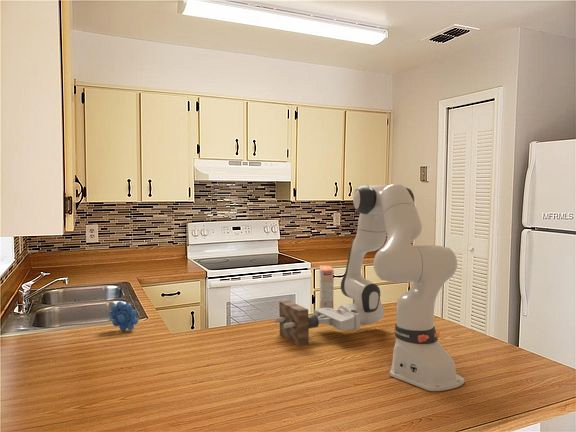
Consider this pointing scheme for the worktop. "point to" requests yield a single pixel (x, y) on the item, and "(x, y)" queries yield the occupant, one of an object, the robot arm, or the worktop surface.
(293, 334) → the block
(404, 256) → the robot arm
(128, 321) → the blue gear
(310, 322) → the black knob
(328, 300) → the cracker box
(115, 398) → the worktop surface
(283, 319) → the teal knob
